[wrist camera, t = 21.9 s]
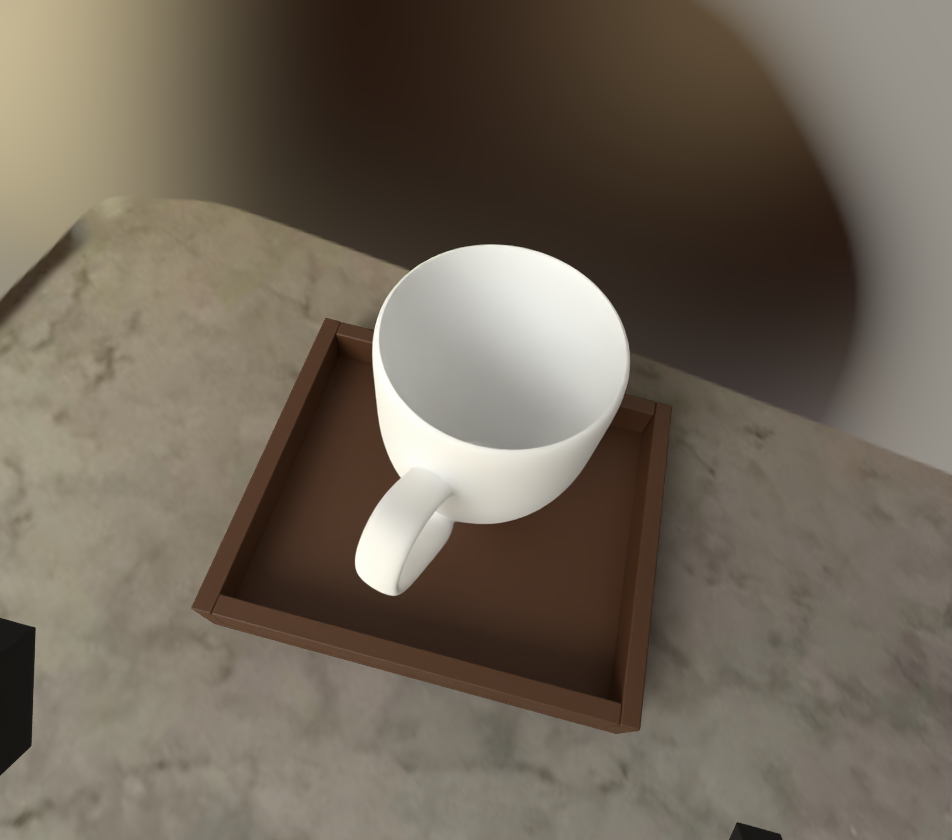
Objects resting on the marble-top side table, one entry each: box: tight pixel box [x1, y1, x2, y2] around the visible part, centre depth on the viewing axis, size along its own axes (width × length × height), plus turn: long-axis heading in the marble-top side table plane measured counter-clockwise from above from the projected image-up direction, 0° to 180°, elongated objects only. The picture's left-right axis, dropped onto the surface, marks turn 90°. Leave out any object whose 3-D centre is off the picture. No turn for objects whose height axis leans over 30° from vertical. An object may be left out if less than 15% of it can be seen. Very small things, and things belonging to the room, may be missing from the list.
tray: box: [192, 318, 672, 734], centre depth 28 cm, size 18×15×3 cm
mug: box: [355, 245, 630, 596], centre depth 24 cm, size 12×8×11 cm
